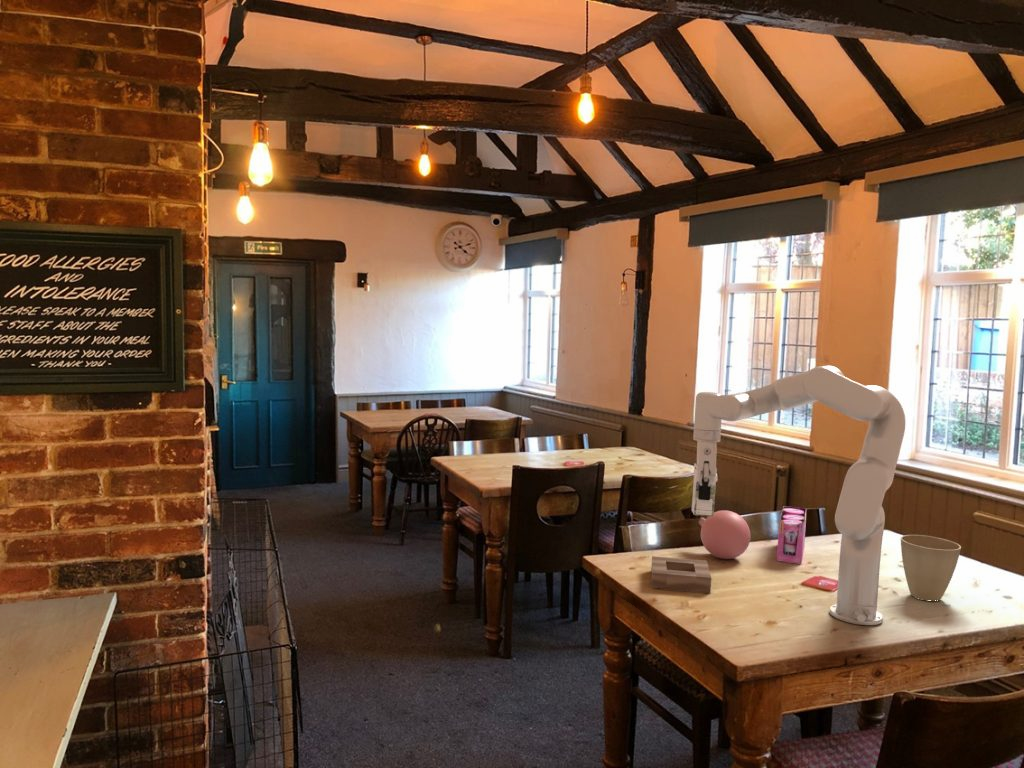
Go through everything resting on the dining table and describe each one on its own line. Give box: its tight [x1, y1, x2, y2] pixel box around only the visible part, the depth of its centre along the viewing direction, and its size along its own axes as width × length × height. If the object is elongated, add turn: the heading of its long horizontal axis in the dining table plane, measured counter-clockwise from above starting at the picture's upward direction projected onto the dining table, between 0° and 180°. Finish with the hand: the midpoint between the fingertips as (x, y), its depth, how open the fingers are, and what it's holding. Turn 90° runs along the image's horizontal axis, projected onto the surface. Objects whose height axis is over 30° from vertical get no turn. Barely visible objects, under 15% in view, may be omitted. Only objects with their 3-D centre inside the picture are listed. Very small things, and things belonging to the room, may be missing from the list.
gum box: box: [775, 505, 807, 565], centre depth 254 cm, size 24×8×14 cm, turn 157°
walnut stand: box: [650, 555, 712, 594], centre depth 222 cm, size 16×16×4 cm
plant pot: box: [900, 534, 962, 601], centre depth 215 cm, size 15×15×16 cm
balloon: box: [698, 509, 751, 560], centre depth 249 cm, size 15×20×15 cm
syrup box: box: [691, 462, 718, 517], centre depth 222 cm, size 6×6×14 cm
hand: (703, 496), depth 222 cm, fingers closed on syrup box, 6 cm apart
